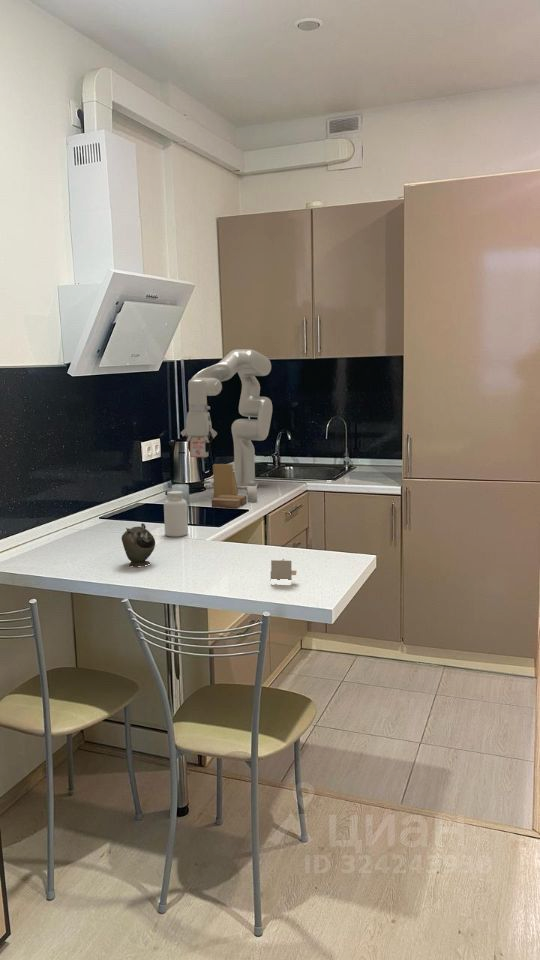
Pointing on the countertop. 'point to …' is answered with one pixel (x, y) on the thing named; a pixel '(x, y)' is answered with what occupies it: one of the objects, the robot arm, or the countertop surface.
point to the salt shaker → (252, 491)
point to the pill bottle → (175, 514)
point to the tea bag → (198, 447)
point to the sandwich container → (224, 480)
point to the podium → (229, 501)
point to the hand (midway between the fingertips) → (199, 451)
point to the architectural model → (281, 570)
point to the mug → (183, 488)
